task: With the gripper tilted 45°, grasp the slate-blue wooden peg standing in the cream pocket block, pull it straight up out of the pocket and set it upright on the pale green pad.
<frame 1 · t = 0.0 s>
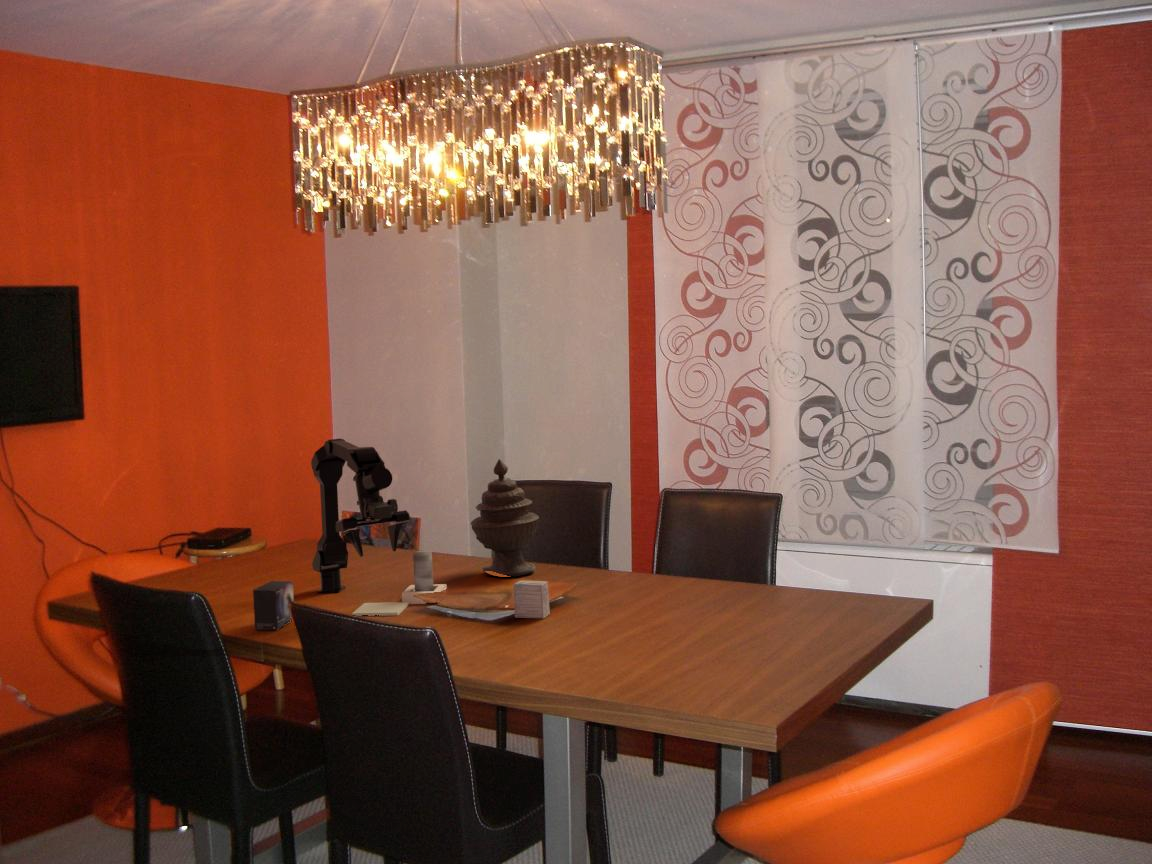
hand: (378, 553, 294), 15 cm above the table, tool pointing down, fingers open, 9 cm apart
peg: (423, 576, 308), in the pocket block
decorative urn: (507, 574, 337), on the table
pad: (380, 610, 298), on the table
small box: (275, 626, 287), on the table
pocket block: (424, 599, 308), on the table
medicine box: (532, 617, 285), on the table
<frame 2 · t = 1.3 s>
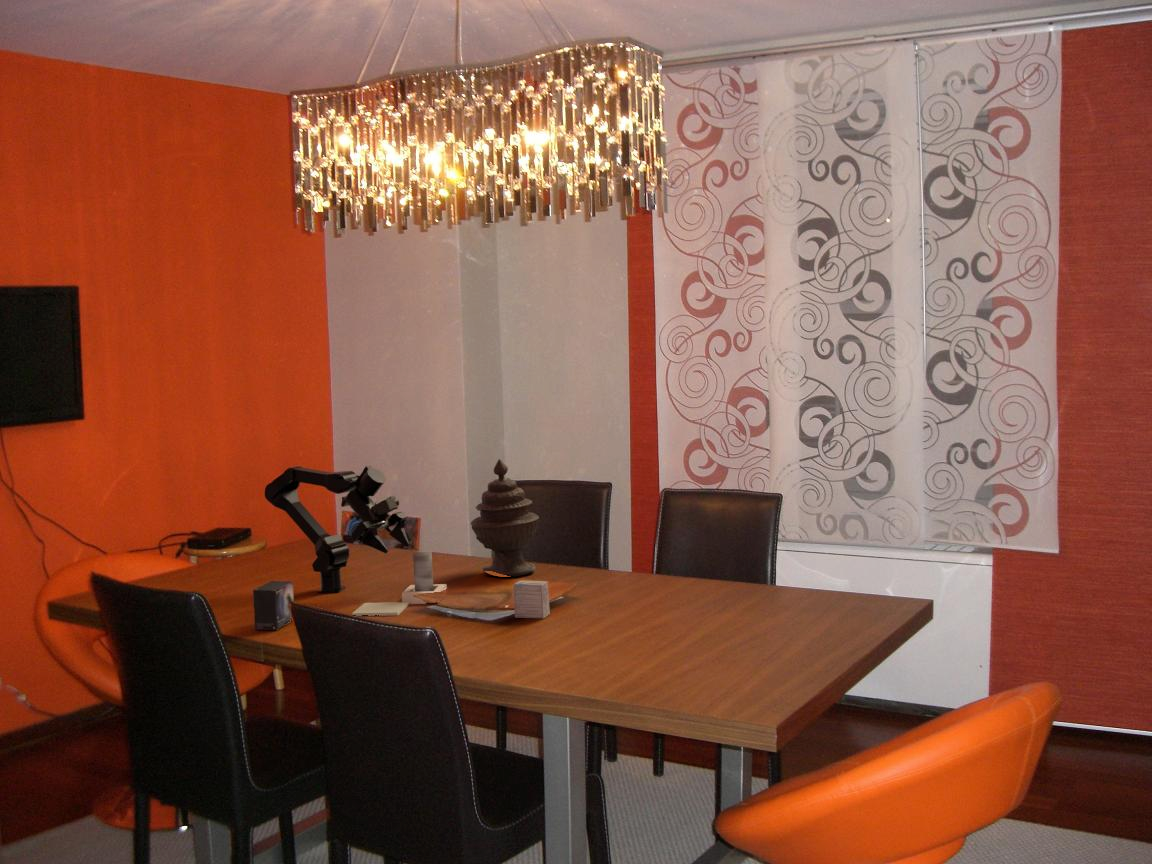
hand: (397, 549, 311), 13 cm above the table, tool tilted 45°, fingers open, 9 cm apart
nothing on the table moved.
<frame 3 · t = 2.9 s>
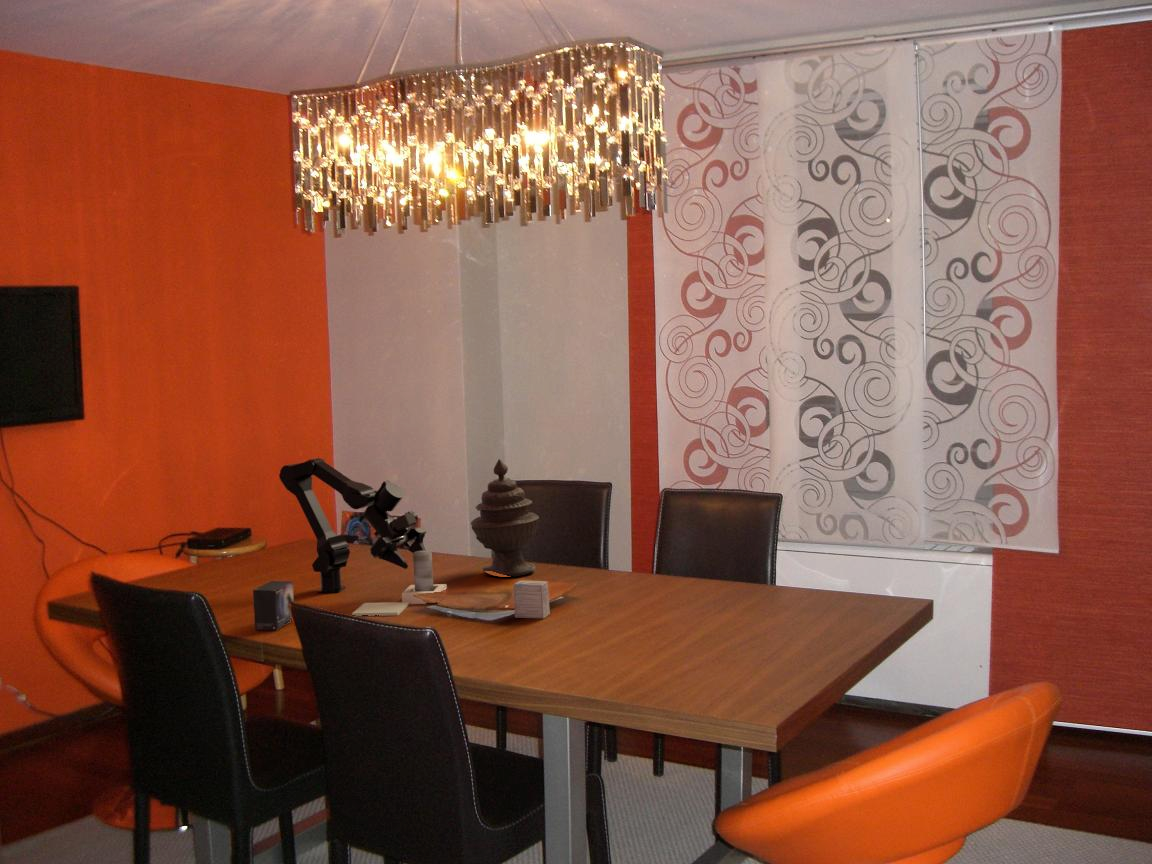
hand: (417, 564, 308), 10 cm above the table, tool tilted 45°, fingers open, 9 cm apart
nothing on the table moved.
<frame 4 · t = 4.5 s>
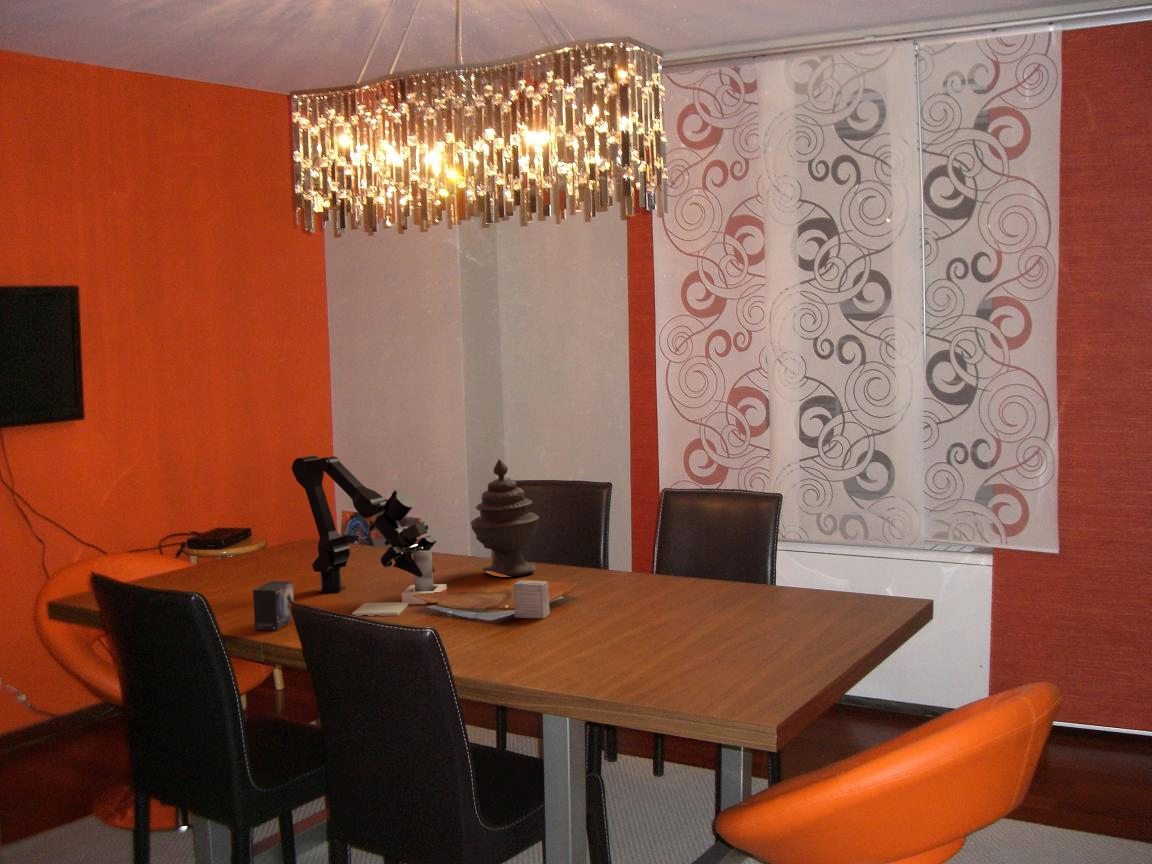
hand: (427, 574, 307), 7 cm above the table, tool tilted 45°, fingers closed on peg, 5 cm apart
peg: (423, 575, 308), in the pocket block, touching gripper
everything else where it was.
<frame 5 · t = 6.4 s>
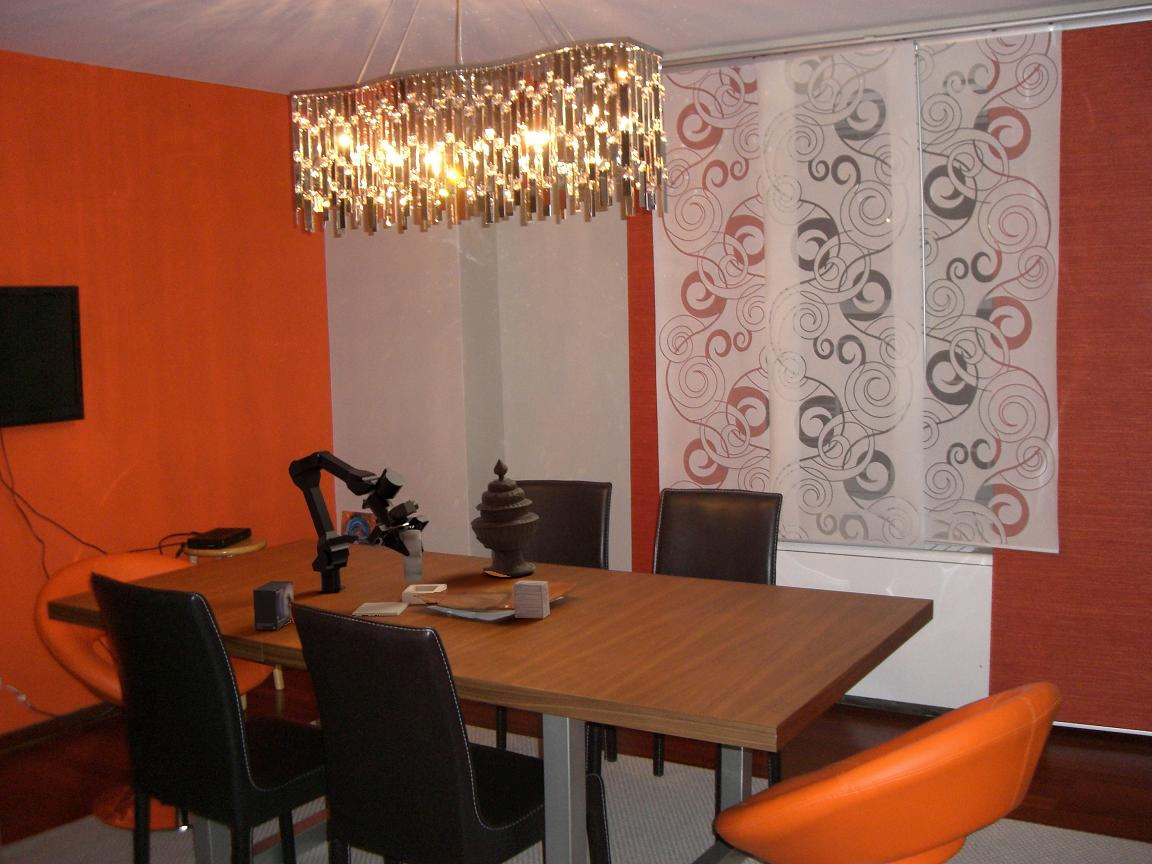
hand: (415, 553, 303), 13 cm above the table, tool tilted 45°, fingers closed on peg, 5 cm apart
peg: (412, 555, 304), point 13 cm above the table, touching gripper
everything else where it was.
when the fingers open (9 cm above the table, at t = 8.7 s): peg drops 1 cm, resting on pad.
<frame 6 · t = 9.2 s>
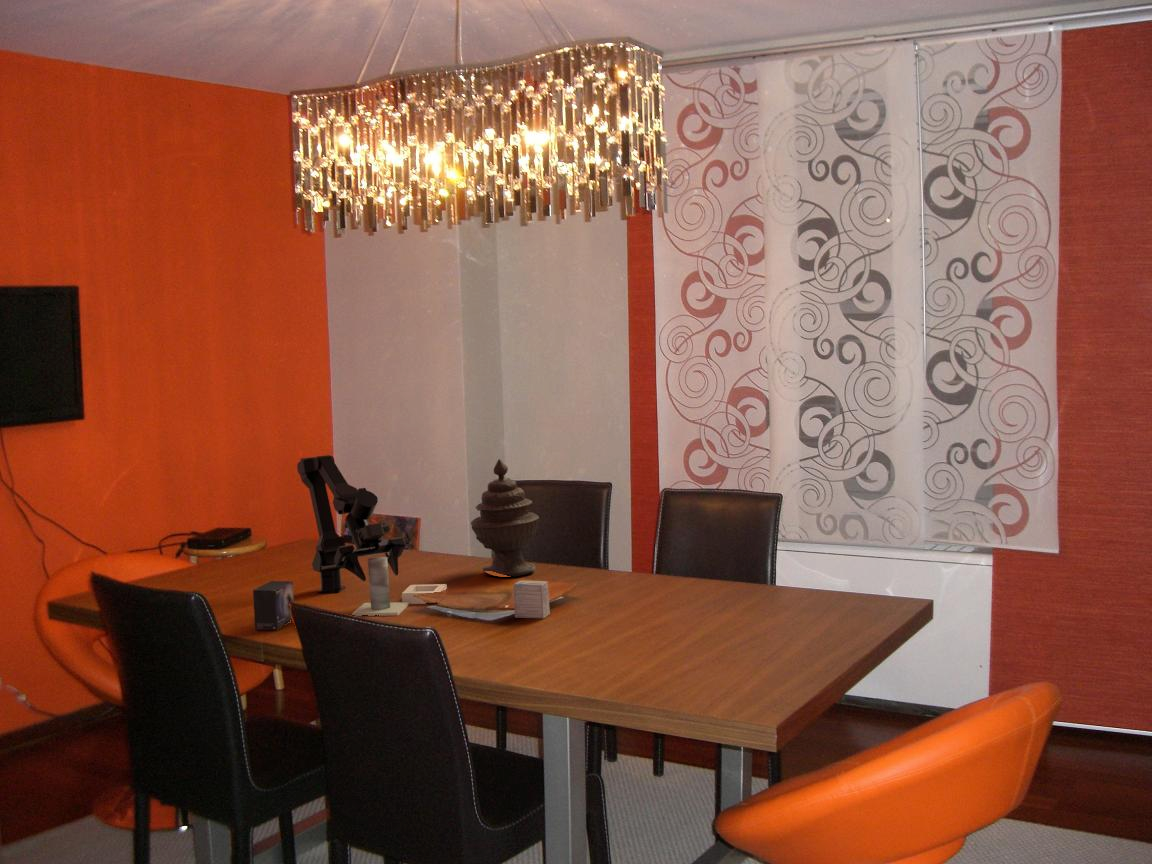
hand: (381, 577, 296), 9 cm above the table, tool tilted 45°, fingers open, 9 cm apart
peg: (379, 583, 297), on the pad, point 7 cm above the table
everything else where it was.
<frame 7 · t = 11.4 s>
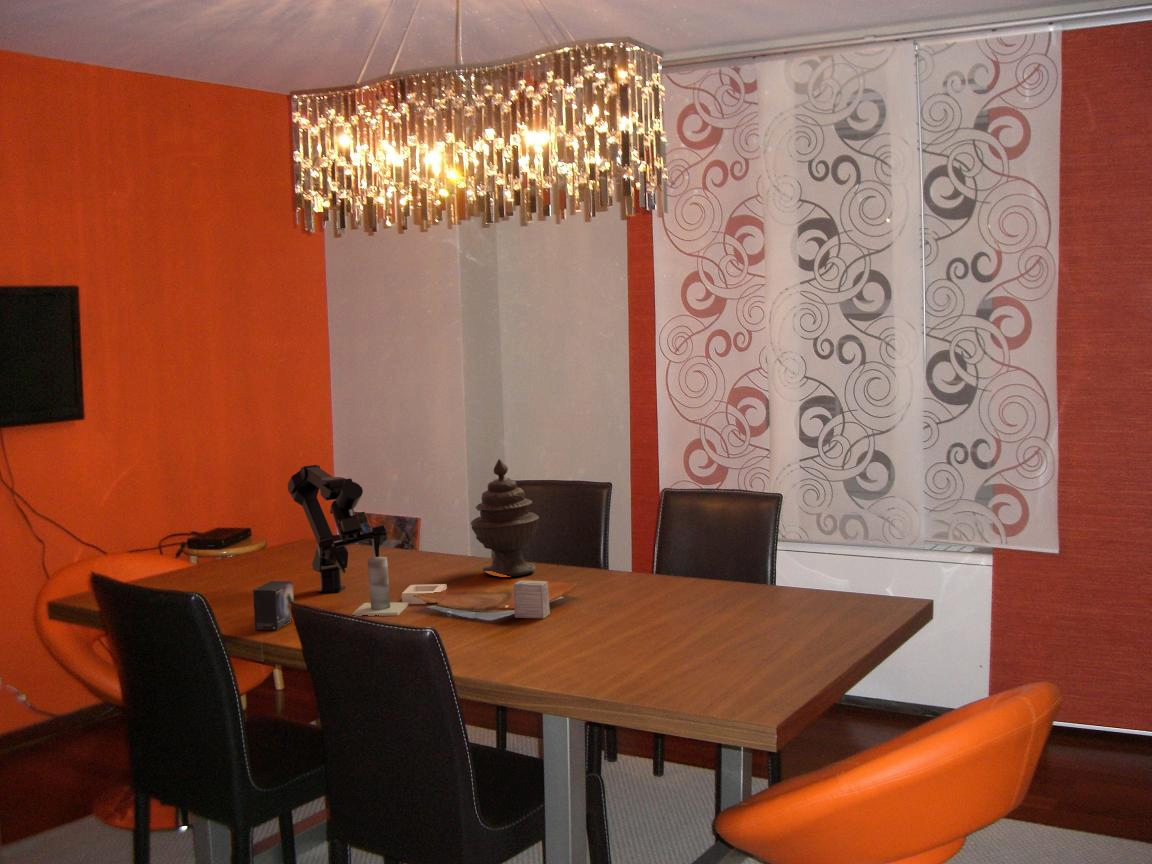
hand: (361, 568, 304), 10 cm above the table, tool tilted 40°, fingers open, 9 cm apart
nothing on the table moved.
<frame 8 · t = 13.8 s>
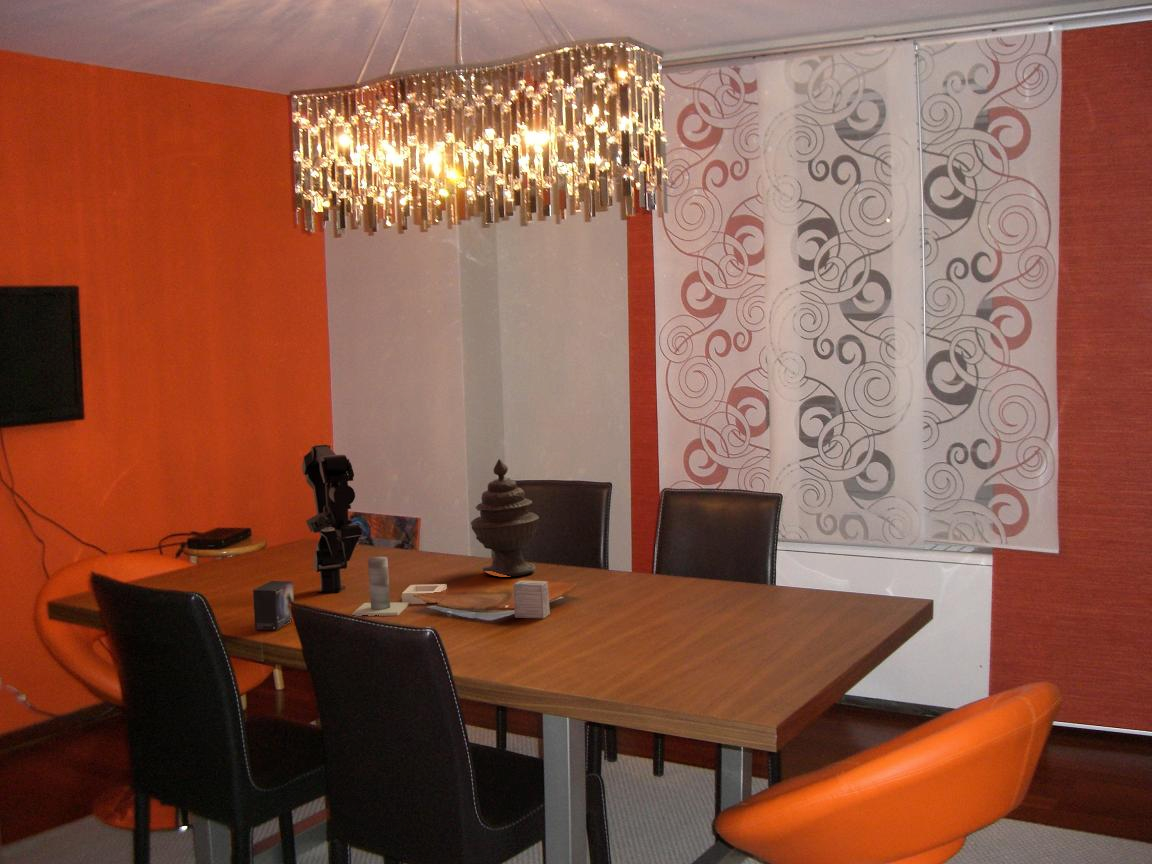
hand: (340, 558, 309), 12 cm above the table, tool pointing down, fingers open, 9 cm apart
nothing on the table moved.
at the end: peg inside the target area on the pad (0.0 cm from its centre), point 7.3 cm above the pad's base; peg tilted 1°; the gripper is holding nothing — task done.
